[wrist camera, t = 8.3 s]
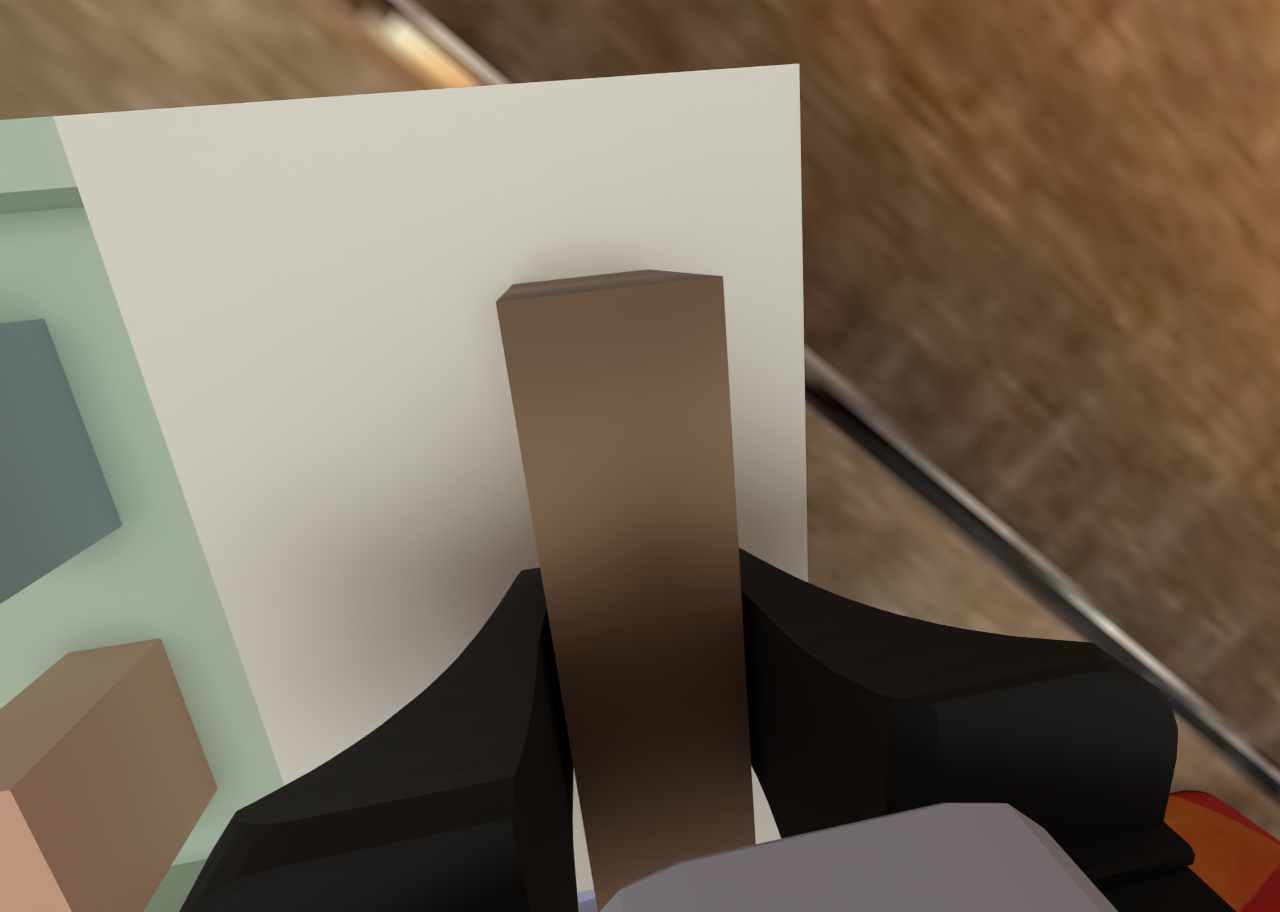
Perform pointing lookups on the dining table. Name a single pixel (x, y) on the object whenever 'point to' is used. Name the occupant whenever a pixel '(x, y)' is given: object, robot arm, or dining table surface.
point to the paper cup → (1228, 851)
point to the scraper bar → (638, 556)
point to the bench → (424, 345)
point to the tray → (119, 501)
